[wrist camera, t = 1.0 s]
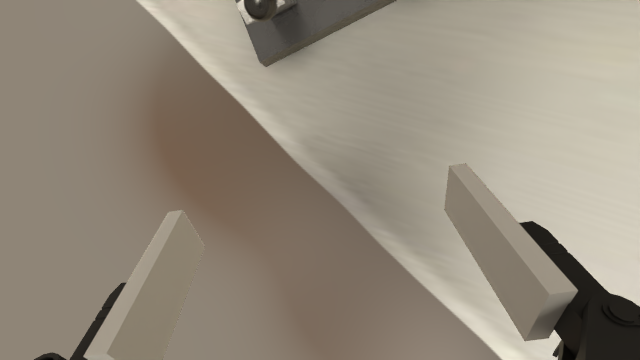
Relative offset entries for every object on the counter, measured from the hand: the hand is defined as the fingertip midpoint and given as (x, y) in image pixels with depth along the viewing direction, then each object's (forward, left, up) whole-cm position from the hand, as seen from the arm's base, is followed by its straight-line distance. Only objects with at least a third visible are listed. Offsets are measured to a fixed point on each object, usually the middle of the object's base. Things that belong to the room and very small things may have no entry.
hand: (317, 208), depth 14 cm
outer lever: (-15, -16, -20) cm, 30 cm away
